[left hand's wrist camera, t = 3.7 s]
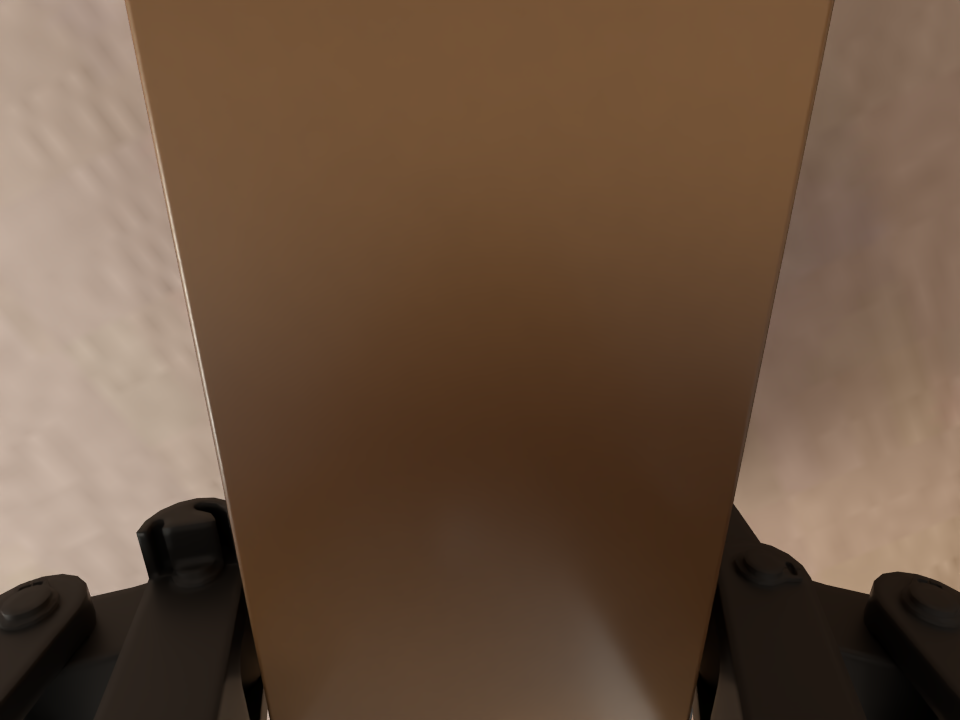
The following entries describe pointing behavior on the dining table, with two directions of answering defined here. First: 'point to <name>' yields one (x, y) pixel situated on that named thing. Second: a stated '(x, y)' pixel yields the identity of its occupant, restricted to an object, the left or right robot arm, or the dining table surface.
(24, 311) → the dining table surface
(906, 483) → the dining table surface
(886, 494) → the dining table surface
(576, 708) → the bar
